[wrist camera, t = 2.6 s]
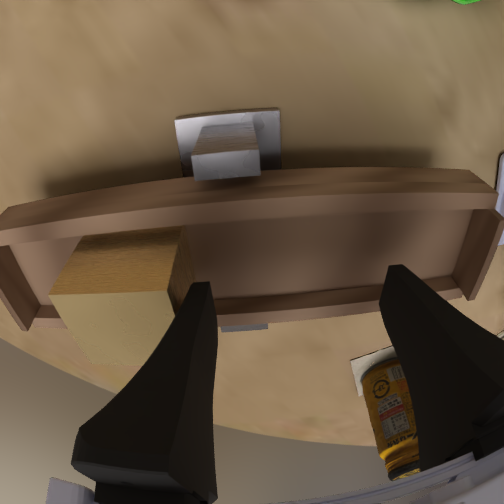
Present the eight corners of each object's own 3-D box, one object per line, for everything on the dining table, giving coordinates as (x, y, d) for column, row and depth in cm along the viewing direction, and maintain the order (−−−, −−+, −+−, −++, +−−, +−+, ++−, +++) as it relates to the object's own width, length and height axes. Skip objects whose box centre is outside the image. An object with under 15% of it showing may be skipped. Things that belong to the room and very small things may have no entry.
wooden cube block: (183, 221, 13) (166, 290, 9) (199, 294, 15) (192, 365, 12) (85, 231, 13) (48, 295, 9) (113, 298, 15) (90, 363, 12)
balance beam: (463, 161, 13) (513, 200, 10) (436, 264, 17) (467, 312, 14) (12, 198, 14) (-31, 242, 10) (55, 292, 18) (30, 342, 14)
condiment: (358, 394, 33) (381, 488, 23) (349, 359, 28) (380, 477, 18) (416, 373, 31) (448, 463, 22) (420, 333, 27) (465, 443, 17)
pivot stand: (277, 107, 15) (295, 134, 11) (281, 270, 21) (292, 332, 17) (177, 116, 15) (153, 147, 11) (204, 276, 21) (198, 339, 17)
